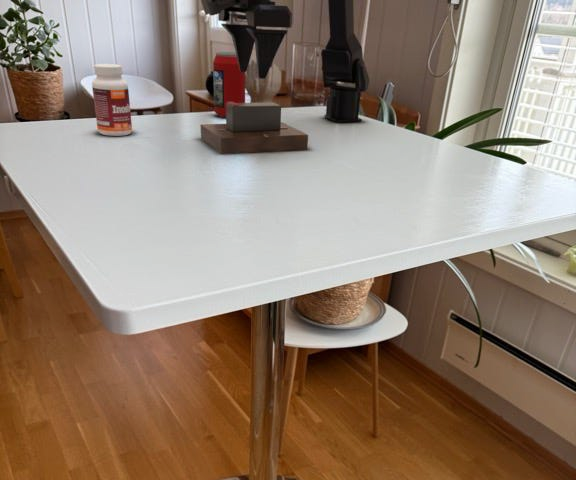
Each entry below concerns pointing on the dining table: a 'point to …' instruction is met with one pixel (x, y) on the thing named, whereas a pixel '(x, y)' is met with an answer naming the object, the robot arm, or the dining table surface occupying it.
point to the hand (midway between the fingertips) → (252, 74)
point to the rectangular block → (253, 116)
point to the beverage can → (227, 81)
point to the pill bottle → (111, 100)
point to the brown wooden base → (253, 139)
